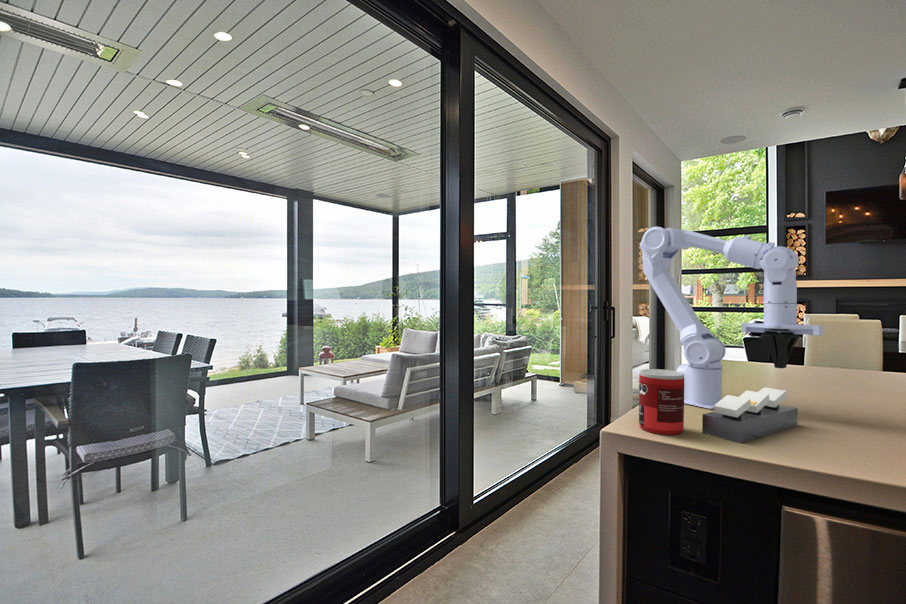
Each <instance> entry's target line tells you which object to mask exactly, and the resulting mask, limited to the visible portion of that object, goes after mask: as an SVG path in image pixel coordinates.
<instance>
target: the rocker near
mask: <svg viewBox="0 0 906 604" xmlns="http://www.w3.org/2000/svg"><path fill="white" fill-rule="evenodd" d="M749 407H751V402H750V399H747V398H742V397H739V396H735V395H731V394H727V395H725V396H724V397H722V399H721V400H720V401H719V402H718V403H716V404H715V405H714V409H713V410H714V411H713V412H715V413H719V414H723V415H728V416H732V417H739V416H740V415H741V414H742V413H743V412H745V411H746V410H747V409H748V408H749Z"/></svg>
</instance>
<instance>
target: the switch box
mask: <svg viewBox="0 0 906 604" xmlns="http://www.w3.org/2000/svg"><path fill="white" fill-rule="evenodd" d="M798 411H799V410H798V407H794V406H788V405H783V404H779V405H778V406H776V407H770V406H764V407H763V408H762V409H761V410H760V411H759V412H758V413H755V412H750V411H745V412H743V413H742V414H741V415H740V416H739V417H732V416H728V415H723V414H719V413H715V412H714V411H711V412H708V413H707V412H706V413H703V414H702V421H701V422H702V431H701V432H702V434H704V433H706V434H705V435H708V434H710V435H709V436H712V435H713V436H712V437H715V436H717V437H716V438H719V437H720V439H723V438H724V439H723V440H727V441H731V442H734V441H735V443H738V444H745V443H747V442H751V441H754V440H757V439H760V438H764V437H767V436H770V435H772V434H776V433H779V432H782V431H785V430H789V429H790V428H791V429H792V428H794V427H797V426H798Z"/></svg>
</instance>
